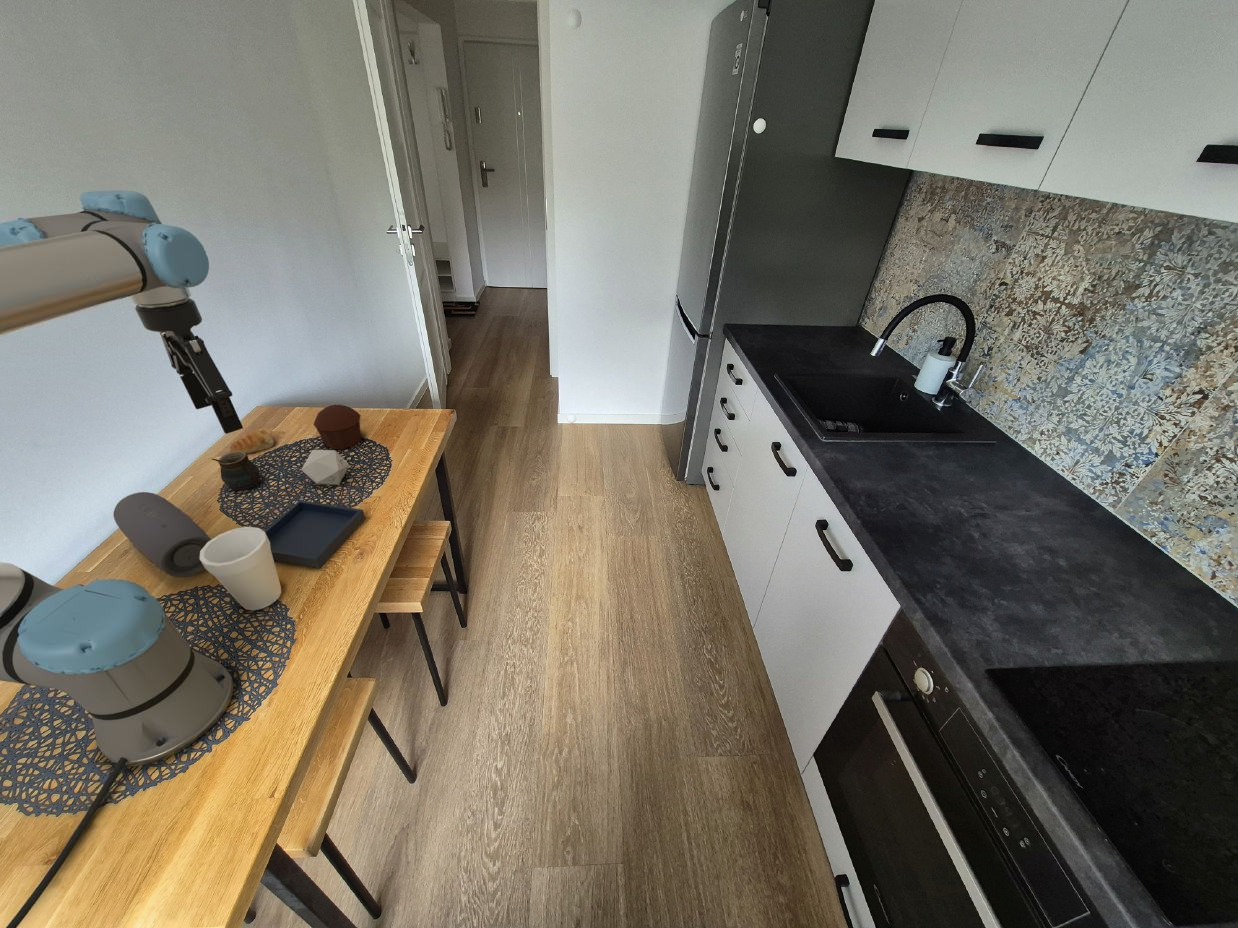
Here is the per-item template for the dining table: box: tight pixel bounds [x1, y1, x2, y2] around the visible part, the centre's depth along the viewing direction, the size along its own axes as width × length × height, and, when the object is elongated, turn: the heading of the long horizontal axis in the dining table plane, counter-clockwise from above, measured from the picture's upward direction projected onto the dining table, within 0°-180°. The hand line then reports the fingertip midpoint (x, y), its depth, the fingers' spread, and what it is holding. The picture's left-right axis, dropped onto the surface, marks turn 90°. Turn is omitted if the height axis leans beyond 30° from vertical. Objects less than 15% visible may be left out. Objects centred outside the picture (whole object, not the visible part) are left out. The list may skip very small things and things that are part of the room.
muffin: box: [313, 404, 362, 450], centre depth 132 cm, size 12×11×10 cm
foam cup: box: [200, 526, 282, 611], centre depth 87 cm, size 10×9×13 cm
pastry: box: [230, 428, 275, 454], centre depth 130 cm, size 9×7×4 cm
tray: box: [263, 499, 366, 569], centre depth 104 cm, size 15×15×3 cm
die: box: [301, 449, 350, 486], centre depth 118 cm, size 8×9×10 cm
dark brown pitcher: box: [211, 451, 261, 491], centre depth 115 cm, size 7×8×10 cm
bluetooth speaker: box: [113, 491, 212, 578], centre depth 96 cm, size 23×9×10 cm, turn 57°
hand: (218, 418), depth 91 cm, fingers open, 13 cm apart
